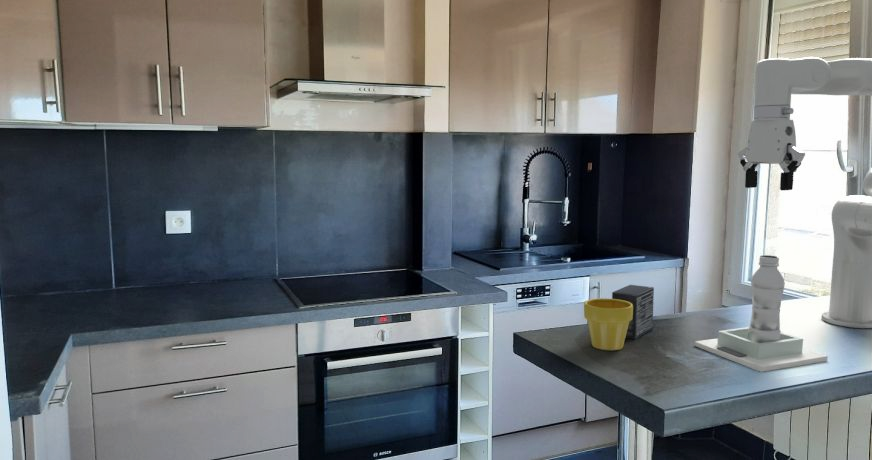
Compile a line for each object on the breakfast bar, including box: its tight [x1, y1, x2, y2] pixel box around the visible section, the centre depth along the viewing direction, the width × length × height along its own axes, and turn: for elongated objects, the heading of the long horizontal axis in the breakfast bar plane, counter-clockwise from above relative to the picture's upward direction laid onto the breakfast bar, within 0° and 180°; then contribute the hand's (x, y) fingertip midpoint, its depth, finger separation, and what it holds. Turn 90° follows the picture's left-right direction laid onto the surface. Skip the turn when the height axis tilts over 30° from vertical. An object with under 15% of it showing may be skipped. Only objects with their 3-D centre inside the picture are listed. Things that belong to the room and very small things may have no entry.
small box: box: [611, 284, 655, 340], centre depth 156 cm, size 11×6×10 cm, turn 141°
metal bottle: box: [747, 254, 786, 343], centre depth 138 cm, size 6×7×20 cm
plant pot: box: [583, 297, 633, 351], centre depth 145 cm, size 10×10×10 cm
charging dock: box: [694, 326, 829, 373], centre depth 140 cm, size 18×18×4 cm
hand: (768, 188), depth 153 cm, fingers open, 9 cm apart
